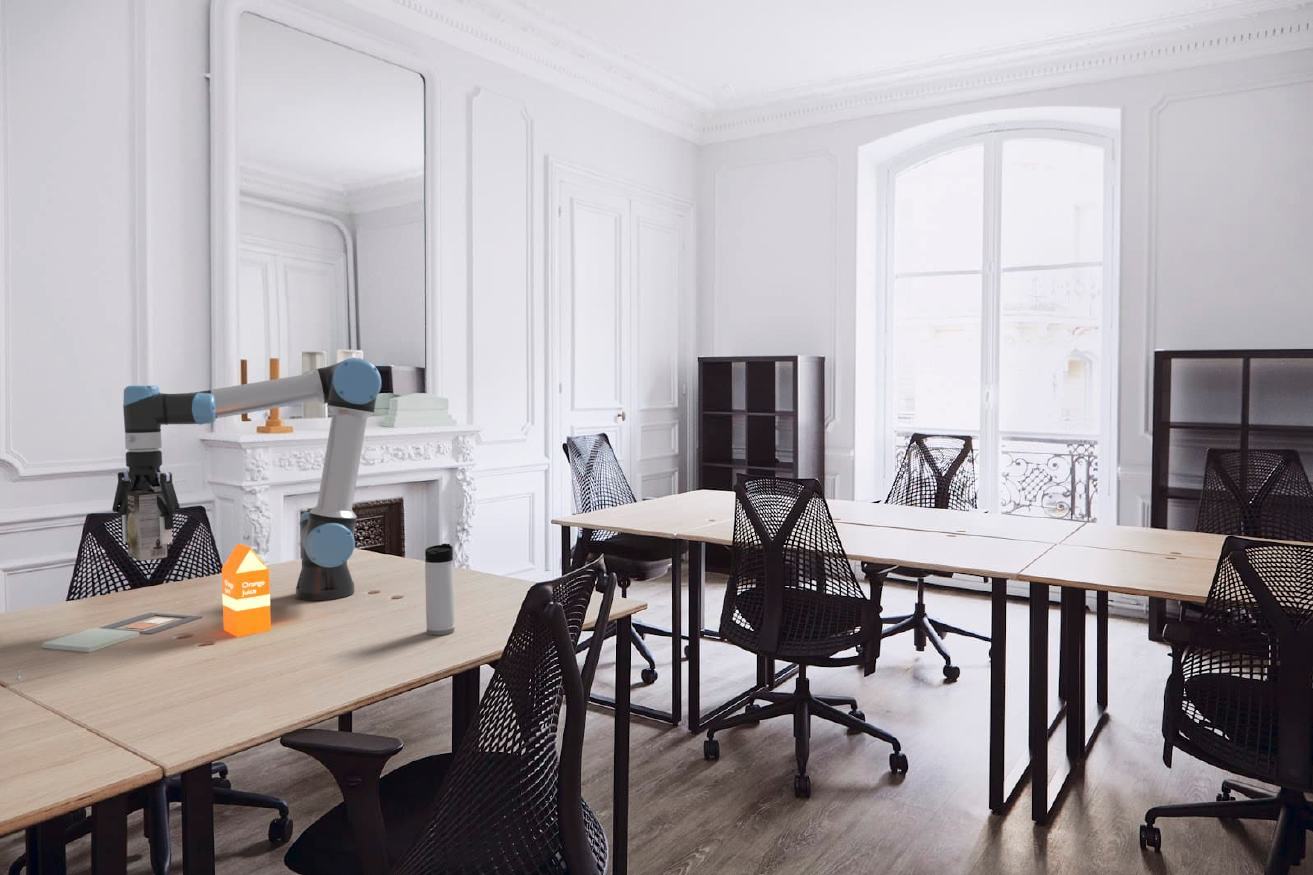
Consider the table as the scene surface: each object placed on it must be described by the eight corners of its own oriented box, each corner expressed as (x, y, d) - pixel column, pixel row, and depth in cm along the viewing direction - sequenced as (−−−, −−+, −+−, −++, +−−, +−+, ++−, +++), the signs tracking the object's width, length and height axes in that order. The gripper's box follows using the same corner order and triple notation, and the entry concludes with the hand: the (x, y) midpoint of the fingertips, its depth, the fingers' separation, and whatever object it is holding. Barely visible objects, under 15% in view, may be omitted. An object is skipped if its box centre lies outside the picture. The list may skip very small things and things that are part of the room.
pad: (139, 636, 205) (139, 631, 205) (89, 652, 193) (89, 647, 193) (94, 632, 209) (94, 628, 209) (42, 647, 196) (42, 643, 196)
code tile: (202, 617, 221) (202, 616, 221) (151, 634, 207) (151, 633, 207) (149, 613, 226) (149, 612, 226) (96, 629, 211) (96, 628, 211)
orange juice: (257, 623, 216) (254, 541, 215) (271, 630, 209) (268, 545, 208) (222, 630, 210) (219, 545, 209) (236, 637, 204) (233, 550, 203)
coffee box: (126, 556, 216) (123, 490, 215) (155, 552, 221) (153, 487, 220) (139, 561, 210) (136, 493, 209) (169, 557, 215) (166, 490, 214)
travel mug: (460, 629, 209) (458, 544, 208) (445, 636, 203) (443, 549, 202) (437, 627, 211) (435, 542, 210) (421, 634, 205) (419, 547, 204)
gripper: (91, 450, 213) (96, 543, 215) (170, 451, 207) (174, 546, 208) (118, 448, 221) (122, 537, 222) (195, 449, 214) (198, 541, 216)
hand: (147, 542), depth 215 cm, fingers closed on coffee box, 10 cm apart
